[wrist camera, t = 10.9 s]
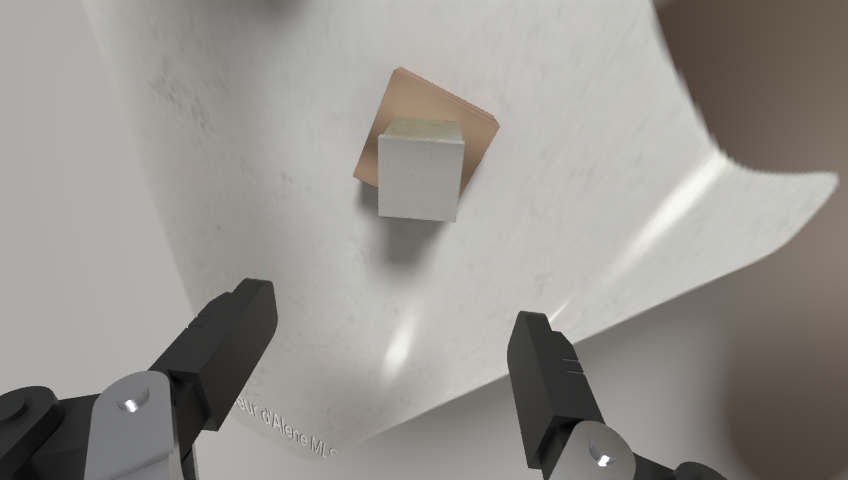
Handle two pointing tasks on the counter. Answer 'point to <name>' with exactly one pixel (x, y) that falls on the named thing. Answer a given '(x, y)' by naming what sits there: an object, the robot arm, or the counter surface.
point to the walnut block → (427, 102)
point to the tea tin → (420, 169)
